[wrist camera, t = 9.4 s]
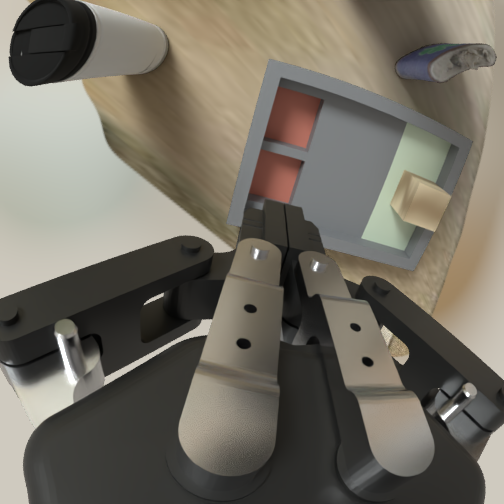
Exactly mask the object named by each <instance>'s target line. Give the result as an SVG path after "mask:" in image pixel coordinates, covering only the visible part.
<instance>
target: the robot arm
mask: <svg viewBox="0 0 504 504" xmlns="http://www.w3.org/2000/svg"><path fill="white" fill-rule="evenodd" d="M161 293H164V296H163V297H161V298H159V299H157V300H155V301H152V302H150V303H148V304H146V305H144V303H145V302H146V301H147V300H149V299H150V298H152V297H154V296H157V295H159V294H161ZM202 319H213V320H212V323H211V326H210V329H209V333H208V335H205V336H198V337H193V338H189V339H186V340H183V341H181V342H179V343H176V344H175V345H173V346H171V347H169V348H168V349H166V350H164V351H163V352H161V353H160V354H158V355H156V356H154V357H153V358H151V359H149V360H148V361H146V362H145V363H143V364H141V365H139V366H138V367H136V368H134V369H133V370H131V371H129V372H127V373H126V374H124V375H122V376H121V377H119V378H117V379H115V380H114V381H112V382H110V383H109V384H107V385H105V386H104V381H105V379H104V378H105V377H106V376H108V375H110V374H111V373H114V372H115V371H117V370H119V369H121V368H123V367H125V366H127V365H129V364H131V363H132V362H134V361H136V360H138V359H140V358H142V357H144V356H146V355H147V354H149V353H151V352H153V351H155V350H157V349H158V348H160V347H162V346H164V345H166V344H168V343H170V342H171V341H173V340H175V339H177V338H179V337H180V336H182V335H184V334H186V333H188V332H189V331H191V330H193V329H195V328H196V327H197V326H199V324H200V323H201V320H202ZM383 325H384V326H385V327H386V328H387V329H389V330H390V331H391V332H392V333H393V334H394V335H395V336H396V337H398V338H399V339H400V340H401V341H402V342H403V343H404V344H405V345H406V346H407V347H408V349H409V358H408V360H407V361H406V362H405V364H404V365H401V364H400V363H399V362H398V361H396V360H395V359H394V358H393V357H392V356H391V354H390V352H389V349H388V347H387V344H386V342H385V340H384V337H383V335H382V332H381V329H382V327H383ZM0 368H1V370H2V372H3V374H4V375H5V377H6V379H7V381H8V382H9V384H10V385H11V386H12V387H13V389H14V391H15V392H16V394H17V396H18V398H19V399H20V401H21V403H22V405H23V407H24V409H25V411H26V413H27V415H28V417H29V419H30V421H31V423H32V425H33V427H34V428H35V431H34V432H33V433H32V435H31V437H30V439H29V440H28V443H27V445H26V449H25V453H24V459H23V471H24V477H25V482H26V487H27V491H28V499H29V504H484V499H485V480H484V476H483V473H482V470H481V468H480V466H479V464H478V463H477V461H478V459H479V458H480V456H481V454H482V452H483V450H484V448H485V446H486V444H487V441H488V440H489V438H490V435H491V434H492V433H493V432H495V431H496V430H497V429H498V428H499V427H500V426H502V425H503V424H504V380H503V379H502V378H501V377H499V376H498V375H497V374H496V373H495V372H494V371H493V370H492V369H491V368H490V367H488V366H487V365H486V364H485V363H484V362H483V361H482V360H481V359H480V358H479V357H477V356H476V355H475V354H474V353H473V352H472V351H471V350H470V349H468V348H467V347H466V346H465V345H464V344H463V343H462V342H460V341H459V340H458V339H457V338H456V337H455V336H453V335H452V334H451V333H450V332H449V331H448V330H446V329H445V328H444V327H443V326H442V325H441V324H439V323H438V322H437V321H436V320H435V319H433V318H432V317H431V316H430V315H429V314H427V313H426V312H425V311H424V310H423V309H421V308H420V307H419V306H418V305H417V304H415V303H414V302H413V301H412V300H410V299H409V298H408V297H407V296H406V295H404V294H403V293H402V292H401V291H399V290H398V289H397V288H396V287H394V286H393V285H392V284H391V283H389V282H388V281H386V280H384V279H382V278H379V277H376V276H366V277H364V278H363V280H362V282H361V284H360V285H358V284H356V283H353V282H351V281H348V280H346V279H344V278H343V276H342V274H341V271H340V269H339V266H338V265H337V263H336V262H335V261H334V260H333V259H331V258H330V257H328V256H326V254H325V251H324V247H323V243H322V240H321V237H320V233H319V229H318V228H317V227H316V226H315V225H314V224H313V223H312V222H311V221H307V220H305V219H304V214H303V210H302V207H298V206H294V205H290V204H286V203H284V204H283V203H281V202H277V201H273V200H268V199H265V201H264V204H263V208H262V210H260V209H255V208H251V207H250V208H249V209H247V210H246V211H245V212H244V215H243V219H242V224H241V228H240V232H239V236H238V240H237V245H236V249H235V250H233V251H230V252H225V253H214V249H213V247H212V245H211V244H210V243H209V242H207V241H205V240H203V239H201V238H199V237H195V236H178V237H174V238H171V239H168V240H165V241H162V242H159V243H156V244H153V245H150V246H147V247H144V248H141V249H138V250H135V251H132V252H129V253H126V254H123V255H120V256H117V257H114V258H111V259H108V260H106V261H103V262H100V263H97V264H94V265H91V266H88V267H85V268H83V269H80V270H77V271H74V272H71V273H68V274H66V275H63V276H60V277H57V278H55V279H52V280H49V281H47V282H44V283H41V284H38V285H36V286H33V287H31V288H28V289H25V290H22V291H20V292H17V293H14V294H12V295H9V296H6V297H4V298H1V299H0ZM438 388H440V389H439V390H438Z"/></svg>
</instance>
